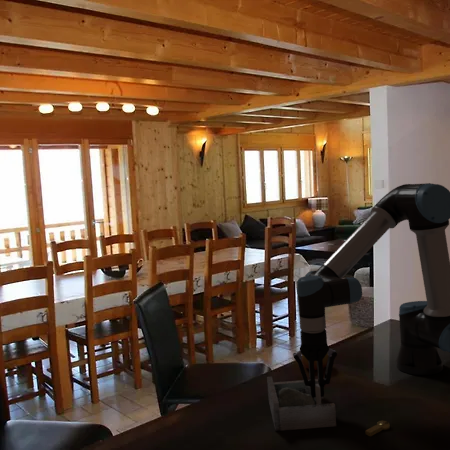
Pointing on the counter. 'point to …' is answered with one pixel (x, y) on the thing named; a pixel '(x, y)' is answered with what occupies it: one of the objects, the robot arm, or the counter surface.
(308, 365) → the apple
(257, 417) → the counter surface
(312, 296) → the robot arm
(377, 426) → the wooden spoon
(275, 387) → the gray open-sided box
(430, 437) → the counter surface
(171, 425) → the counter surface
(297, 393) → the decorative stone
